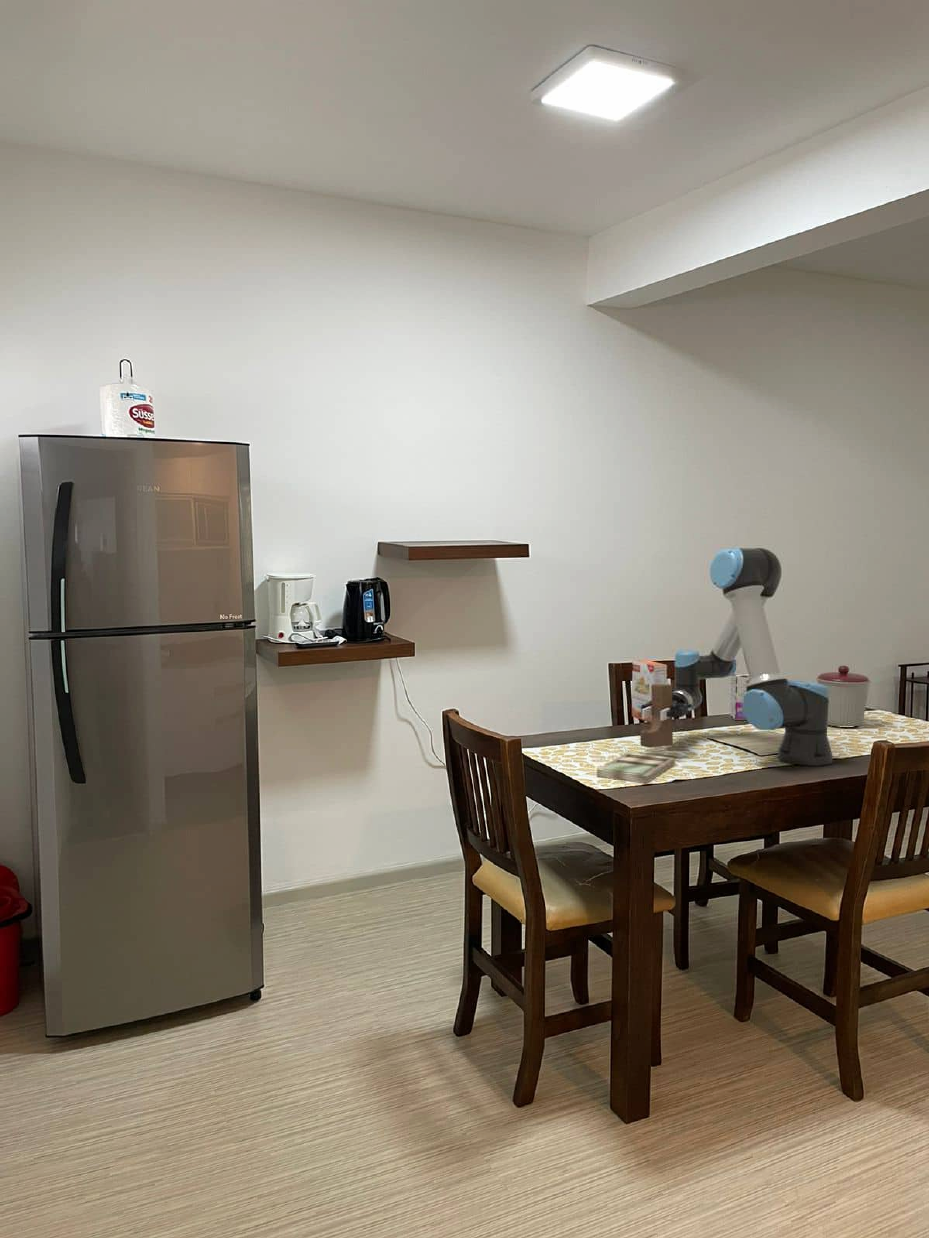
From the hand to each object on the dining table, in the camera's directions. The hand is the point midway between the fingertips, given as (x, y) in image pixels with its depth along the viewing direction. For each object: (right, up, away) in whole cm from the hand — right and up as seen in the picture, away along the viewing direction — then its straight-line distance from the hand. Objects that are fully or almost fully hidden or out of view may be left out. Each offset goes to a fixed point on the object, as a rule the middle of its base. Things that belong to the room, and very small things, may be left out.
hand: (652, 715), depth 274 cm
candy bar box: (+47, -8, +66) cm, 82 cm away
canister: (+77, -10, +56) cm, 96 cm away
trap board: (-6, -14, -10) cm, 19 cm away
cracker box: (+11, -8, +64) cm, 65 cm away
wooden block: (+2, -10, +5) cm, 11 cm away
